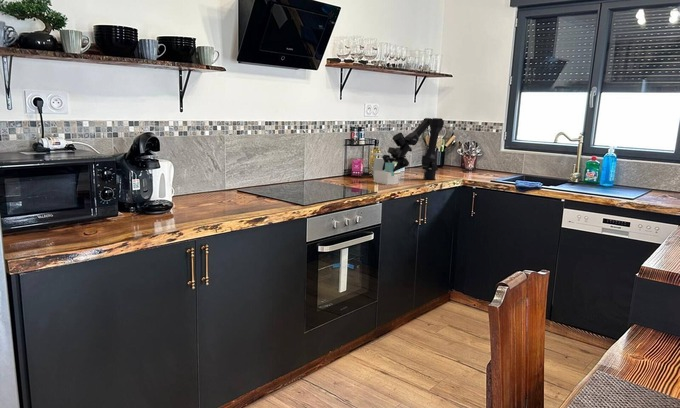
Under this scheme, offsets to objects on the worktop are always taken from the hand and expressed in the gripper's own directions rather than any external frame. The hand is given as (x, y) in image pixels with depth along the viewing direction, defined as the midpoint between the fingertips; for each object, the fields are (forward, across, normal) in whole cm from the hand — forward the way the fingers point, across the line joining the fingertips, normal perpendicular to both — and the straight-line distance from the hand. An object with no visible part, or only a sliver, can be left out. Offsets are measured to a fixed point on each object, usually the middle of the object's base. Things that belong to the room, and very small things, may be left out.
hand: (387, 170), depth 305 cm
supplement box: (-3, -20, +14) cm, 24 cm away
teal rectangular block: (+4, 0, +6) cm, 7 cm away
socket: (+6, 0, +5) cm, 7 cm away
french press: (-9, -32, +20) cm, 38 cm away
